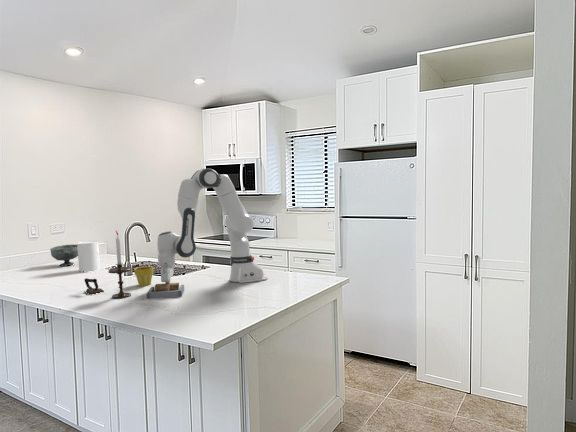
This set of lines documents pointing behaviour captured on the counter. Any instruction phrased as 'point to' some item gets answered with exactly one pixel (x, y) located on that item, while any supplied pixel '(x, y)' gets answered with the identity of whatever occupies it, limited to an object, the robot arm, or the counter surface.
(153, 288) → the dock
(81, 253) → the canister
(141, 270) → the plant pot
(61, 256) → the bowl
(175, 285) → the t block
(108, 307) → the counter surface
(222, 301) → the counter surface
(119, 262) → the candlestick
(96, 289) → the clothes iron
